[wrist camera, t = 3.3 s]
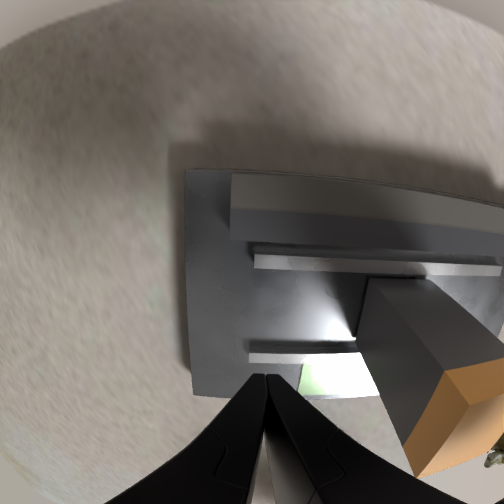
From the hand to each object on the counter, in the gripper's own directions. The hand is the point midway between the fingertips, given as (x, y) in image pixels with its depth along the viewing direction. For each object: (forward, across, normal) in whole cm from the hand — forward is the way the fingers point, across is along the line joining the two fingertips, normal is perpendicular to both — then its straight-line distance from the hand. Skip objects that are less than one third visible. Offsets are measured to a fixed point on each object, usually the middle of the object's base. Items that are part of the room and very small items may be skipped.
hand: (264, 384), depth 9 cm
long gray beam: (+5, +7, +5) cm, 10 cm away
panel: (+7, +6, 0) cm, 9 cm away
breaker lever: (+5, +7, 0) cm, 8 cm away
